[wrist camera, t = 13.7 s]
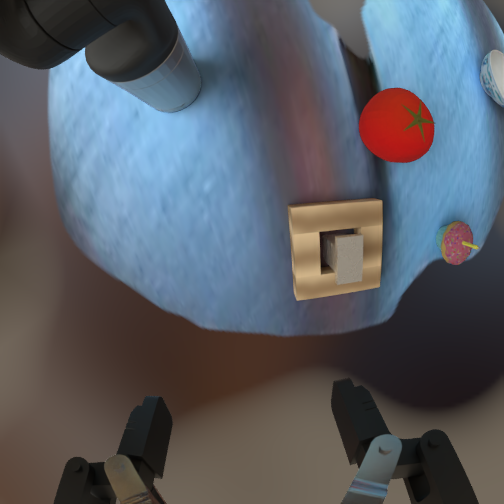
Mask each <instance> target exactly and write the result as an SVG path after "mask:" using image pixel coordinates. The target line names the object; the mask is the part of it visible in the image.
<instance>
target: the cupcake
mask: <svg viewBox="0 0 504 504" xmlns="http://www.w3.org/2000/svg"><path fill="white" fill-rule="evenodd" d="M436 243H437V246H438V247H439V248H440V249H441V252H442V256H443V258H444V259H445V260H446V262H448V263H450V264H453V265H458V264H461V263H462V262H463V261H465V259H467V257H468V256H469V255H470V252H471V249H472V248H474V249H478V248H479V249H480V247H478V246H477V245H474V244H473V234H472V232H471V229H470V227H469V226H468V225H467V224H465V223H464V222H461V221H454V222H452V223H451V224H450V225H448V226H443V227H441V228H440V229H439V231H438V232H437V235H436Z"/></svg>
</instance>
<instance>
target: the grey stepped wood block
mask: <svg viewBox="0 0 504 504" xmlns="http://www.w3.org/2000/svg"><path fill="white" fill-rule="evenodd" d="M322 242H323V259H324V260H325V261H326V262H327V264H328V265H329V266H330V267H331V268H332V270H333V271H334V272H335V283H336V284H337V285H340V284H346V283H353V282H359V281H362V271H363V235H362V234H361V233H360V234H351V235H347V234H346V233H338V234H328V235H322Z"/></svg>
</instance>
